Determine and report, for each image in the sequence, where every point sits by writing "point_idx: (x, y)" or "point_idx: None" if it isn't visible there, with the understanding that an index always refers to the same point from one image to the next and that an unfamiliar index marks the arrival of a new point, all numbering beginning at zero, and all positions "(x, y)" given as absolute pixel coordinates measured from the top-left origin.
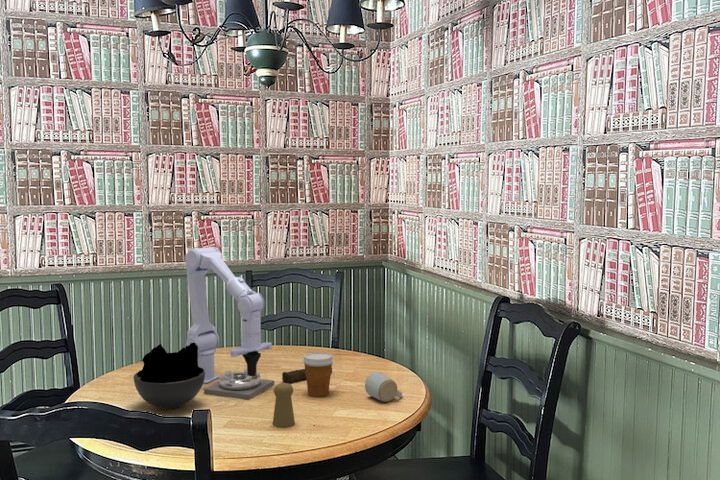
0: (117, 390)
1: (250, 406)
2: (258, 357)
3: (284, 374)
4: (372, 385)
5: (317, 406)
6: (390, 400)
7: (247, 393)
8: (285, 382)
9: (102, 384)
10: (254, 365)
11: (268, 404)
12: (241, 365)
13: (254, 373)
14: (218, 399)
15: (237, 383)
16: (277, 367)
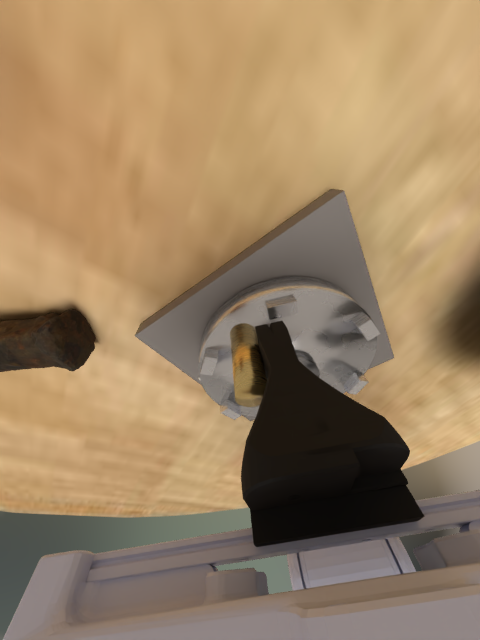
0: (461, 424)
1: (413, 36)
2: (276, 429)
3: (69, 351)
4: None
5: None
6: None
7: (332, 222)
8: (85, 323)
9: (441, 449)
10: (289, 365)
11: None
12: (182, 465)
13: (268, 330)
14: (404, 274)
15: (354, 304)
16: (93, 442)
